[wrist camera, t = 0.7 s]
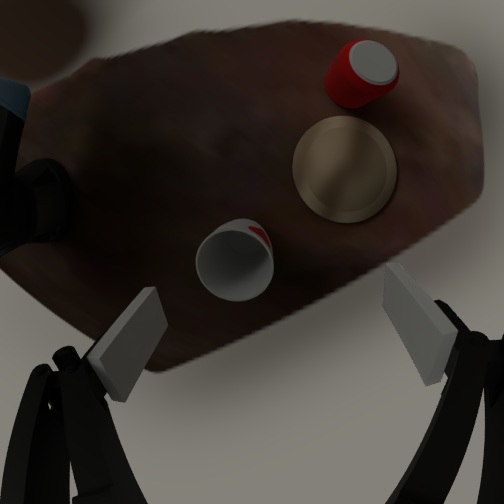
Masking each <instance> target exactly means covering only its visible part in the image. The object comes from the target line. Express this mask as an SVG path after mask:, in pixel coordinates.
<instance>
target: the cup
mask: <svg viewBox="0 0 504 504" xmlns="http://www.w3.org/2000/svg"><path fill="white" fill-rule="evenodd" d="M273 269H274V265H273V250H272V245H271V242H270V240H269V238H268V235H267V233H266V231H265V230H264V228H263V227H262V226H261V225H259V224H258V223H257V222H255V221H252V220H249V219H236V220H233V221H230V222H228V223H225V224H223V225H222V226H220V227H219V228H217V229H216V230H215V231H214V232H213V233H212V234H210V235H209V236H208V237H207V238H206V239H205V240H204V241H203V242H202V244H201V245H200V247H199V249H198V252H197V255H196V270H197V273H198V276H199V278H200V280H201V282H202V283H203V285H204V286H205V287H206V288H207V289H208V290H209V291H210V292H211V293H213V294H214V295H216V296H218V297H220V298H222V299H225V300H230V301H245V300H249V299H252V298H254V297H256V296H258V295H259V294H261V293H262V292H263V291H264V290H265V289H266V288H267V286H268V285H269V283H270V281H271V279H272V276H273Z"/></svg>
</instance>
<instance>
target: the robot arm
mask: <svg viewBox="0 0 504 504" xmlns="http://www.w3.org/2000/svg"><path fill="white" fill-rule="evenodd" d="M30 97H31V93H30V90H29V88H28V87H27V86H26V85H24V84H21V83H18V82H15V81H12V80H8V79H4V78H0V257H1V256H3V255H5V254H6V253H8V252H10V251H12V250H14V249H15V248H17V247H19V246H21V245H23V244H26V243H48V242H51V241H53V240H55V239H57V238H59V237H61V236H62V235H63V234H64V233H65V232H66V231H67V229H68V227H69V225H70V222H71V218H72V213H73V195H72V189H71V185H70V182H69V179H68V176H67V174H66V172H65V171H64V169H63V168H62V167H61V165H60V164H59V163H57V162H56V161H55V160H53V159H49V158H44V159H37V160H34V161H32V162H30V163H28V164H27V165H25V166H24V167H22V168H21V169H19V170H18V171H17V172H15V167H16V161H17V155H18V150H19V145H20V140H21V136H22V132H23V127H24V124H25V122H26V119H27V118H26V114H27V110H28V105H29V102H30ZM383 308H384V309H385V311H386V313H387V315H388V316H389V318H390V320H391V321H392V323H393V325H394V327H395V329H396V330H397V332H398V334H399V336H400V337H401V339H402V341H403V343H404V345H405V347H406V349H407V350H408V352H409V354H410V356H411V358H412V360H413V362H414V364H415V366H416V368H417V370H418V372H419V374H420V376H421V378H422V380H423V382H424V384H425V386H428V385H432V384H435V383H438V382H441V379H442V377H443V374H444V372H445V374H446V375H447V377H448V379H447V382H446V385H445V386H444V389H443V391H442V393H441V398H440V401H439V403H438V406H437V408H436V411H435V413H434V416H433V418H432V420H431V423H430V425H429V427H428V429H427V432H426V434H425V436H424V438H423V440H422V442H421V444H420V446H419V448H418V450H417V452H416V454H415V456H414V458H413V459H412V461H411V463H410V465H409V467H408V468H407V470H406V472H405V474H404V475H403V477H402V478H401V480H400V482H399V483H398V485H397V487H396V488H395V490H394V491H393V493H392V494H391V496H390V497H389V499H388V500H387V502H386V503H385V504H444V501H445V499H446V497H447V495H448V493H449V491H450V489H451V487H452V485H453V482H454V480H455V478H456V476H457V473H458V471H459V468H460V466H461V463H462V460H463V458H464V455H465V453H466V450H467V447H468V444H469V441H470V438H471V435H472V431H473V428H474V425H475V421H476V417H477V414H478V409H479V406H480V401H481V397H482V392H483V387H484V401H485V443H484V457H483V468H482V477H481V483H480V490H479V495H478V501H477V504H504V334H503V337H502V339H501V340H489V339H488V337H487V336H486V335H484V334H483V333H481V332H478V331H470V330H469V329H468V327H467V326H466V325H465V324H464V323H463V321H462V320H461V319H460V318H459V317H458V316H457V315H456V313H455V312H454V311H453V310H452V309H451V308H450V307H449V306H448V304H446V303H444V302H443V301H441V300H435V301H433V300H432V299H431V298H430V296H429V295H428V294H427V293H426V292H425V291H424V290H423V288H422V287H421V286H420V285H419V284H418V283H417V282H416V281H415V280H414V279H413V277H411V275H410V274H409V273H408V272H407V271H406V270H405V269H404V268H403V267H402V266H401V265H400V264H399V263H398V262H392V263H386V264H385V284H384V297H383ZM167 326H168V323H167V320H166V318H165V315H164V312H163V309H162V306H161V303H160V299H159V296H158V293H157V290H156V287H145V288H144V289H143V290H142V291H141V292H140V293H139V294H138V296H137V297H136V298H135V299H134V300H133V301H132V302H131V304H130V305H129V306H128V307H127V308H126V309H125V311H124V312H123V313H122V314H121V315H120V317H119V318H118V319H117V320H116V321H115V322H114V324H113V325H112V326H111V327H110V329H108V330H106V331H105V332H104V333H102V334H101V335H100V336H99V337H98V339H97V340H96V341H95V342H94V344H93V346H91V347H90V348H89V350H88V351H87V352H86V353H85V355H84V356H83V357H82V359H80V357H79V355H78V353H77V352H76V350H75V348H74V347H72V346H66V347H62V348H60V349H59V350H57V351H56V352H55V354H54V355H53V357H52V359H53V361H54V363H55V364H56V366H57V368H58V369H59V371H52V369H51V367H50V366H49V365H48V364H41V365H38V366H36V367H35V368H34V369H33V370H32V372H31V374H30V377H29V380H28V382H27V385H26V388H25V391H24V393H23V397H22V399H21V402H20V406H19V409H18V413H17V416H16V419H15V422H14V426H13V430H12V434H11V438H10V442H9V446H8V451H7V457H6V461H5V466H4V472H3V479H2V487H1V496H0V504H70V489H69V488H70V462H71V466H72V471H73V475H74V479H75V483H76V487H77V490H78V495H77V496H75V497H73V498H72V504H148V503H147V501H146V499H145V498H144V495H143V493H142V492H141V489H140V487H139V485H138V483H137V481H136V479H135V477H134V474H133V472H132V470H131V468H130V466H129V463H128V460H127V458H126V456H125V453H124V451H123V448H122V445H121V443H120V440H119V438H118V434H117V432H116V429H115V426H114V423H113V420H112V417H111V413H110V410H109V407H108V403H107V401H106V400H105V398H104V396H105V395H106V393H108V394H109V396H110V397H111V399H112V400H113V401H118V402H126V400H127V398H128V396H129V394H130V393H131V391H132V389H133V387H134V385H135V383H136V381H137V380H138V378H139V376H140V374H141V372H142V371H143V369H144V367H145V365H146V363H147V362H148V360H149V358H150V356H151V355H152V353H153V351H154V349H155V347H156V346H157V344H158V342H159V340H160V339H161V337H162V335H163V333H164V332H165V330H166V328H167ZM48 403H49V404H50V405H51V409H49V406H48Z"/></svg>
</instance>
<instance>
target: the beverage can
mask: <svg viewBox="0 0 504 504" xmlns="http://www.w3.org/2000/svg"><path fill="white" fill-rule="evenodd" d="M398 79H399V67H398V63H397V61H396V58H395V57H394V55H393V54H392V52H391V51H390V50H389V49H388V48H387V47H385V46H384V45H382V44H380V43H378V42H375V41H372V40H368V39H358V40H354V41H351V42H349V43H347V44H346V45H345V46H344V47H343V48H342V49H341V51H340V53H339V54H338V56H337V58H336V59H335V61H334V63H333V64H332V66H331V68H330V69H329V71H328V73H327V75H326V77H325V82H324V84H325V90H326V92H327V94H328V96H329V97H330V98H331V99H332V100H333V101H334V102H335V103H336V104H338V105H340V106H342V107H345V108H351V109H353V108H359V107H362V106H363V105H365V104H367V103H369V102H371V101H373V100H374V99H376V98H378V97H380V96H382V95H384V94H386V93H388V92H389V91H391V90H392V89H393V88H394V87H395V85H396V84H397V82H398Z"/></svg>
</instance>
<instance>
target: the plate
mask: <svg viewBox="0 0 504 504" xmlns="http://www.w3.org/2000/svg"><path fill="white" fill-rule="evenodd" d="M292 170H293V178H294V182H295V185H296V188H297V190H298V192H299V194H300V196H301V198H302V199H303V200H304V202H305V203H306V204H307V205H308V206H309V207H310V208H311V209H312V210H313V211H314V212H315V213H317V214H318V215H320V216H322V217H324V218H326V219H328V220H331V221H334V222H340V223H354V222H359V221H362V220H365V219H367V218H369V217H371V216H373V215H374V214H376V213H377V212H378V211H379V210H381V209H382V208H383V207H384V205H385V204H386V203H387V201H388V200H389V198H390V197H391V194H392V192H393V190H394V186H395V183H396V175H397V168H396V160H395V156H394V153H393V150H392V148H391V146H390V144H389V142H388V141H387V139H386V138H385V137H384V135H383V134H382V133H381V132H380V131H379V130H378V129H377V128H375V127H374V126H373V125H371V124H370V123H368V122H366V121H364V120H362V119H359V118H355V117H351V116H335V117H330V118H327V119H324V120H322V121H320V122H318V123H316V124H315V125H313V126H312V127H311V128H310V129H309V130H307V131H306V132H305V134H304V135H303V136H302V137H301V139H300V141H299V142H298V144H297V147H296V149H295V153H294V156H293V166H292Z"/></svg>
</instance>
